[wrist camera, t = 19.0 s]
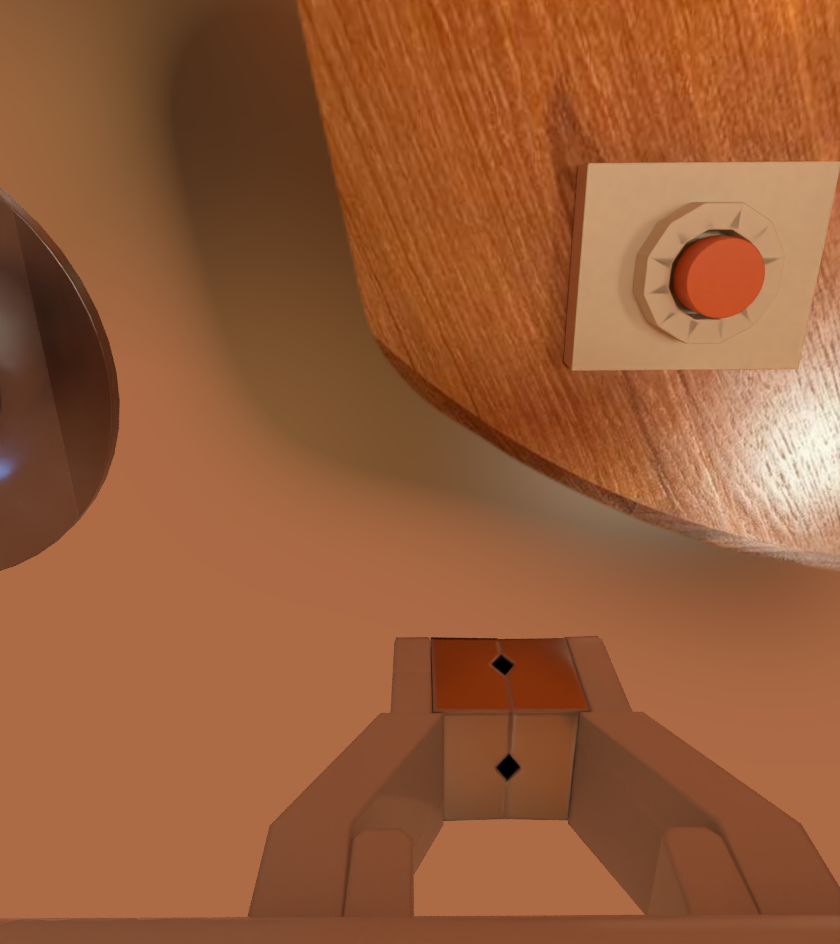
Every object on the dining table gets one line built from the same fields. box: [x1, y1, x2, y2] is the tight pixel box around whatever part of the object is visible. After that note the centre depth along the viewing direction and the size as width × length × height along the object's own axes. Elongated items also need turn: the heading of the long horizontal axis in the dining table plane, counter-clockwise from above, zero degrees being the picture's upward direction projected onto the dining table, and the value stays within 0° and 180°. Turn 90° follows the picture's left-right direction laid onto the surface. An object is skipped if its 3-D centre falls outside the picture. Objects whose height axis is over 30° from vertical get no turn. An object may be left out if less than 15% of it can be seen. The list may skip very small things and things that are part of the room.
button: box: [673, 235, 765, 319], centre depth 32 cm, size 4×4×2 cm
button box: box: [564, 161, 840, 371], centre depth 34 cm, size 12×10×4 cm
